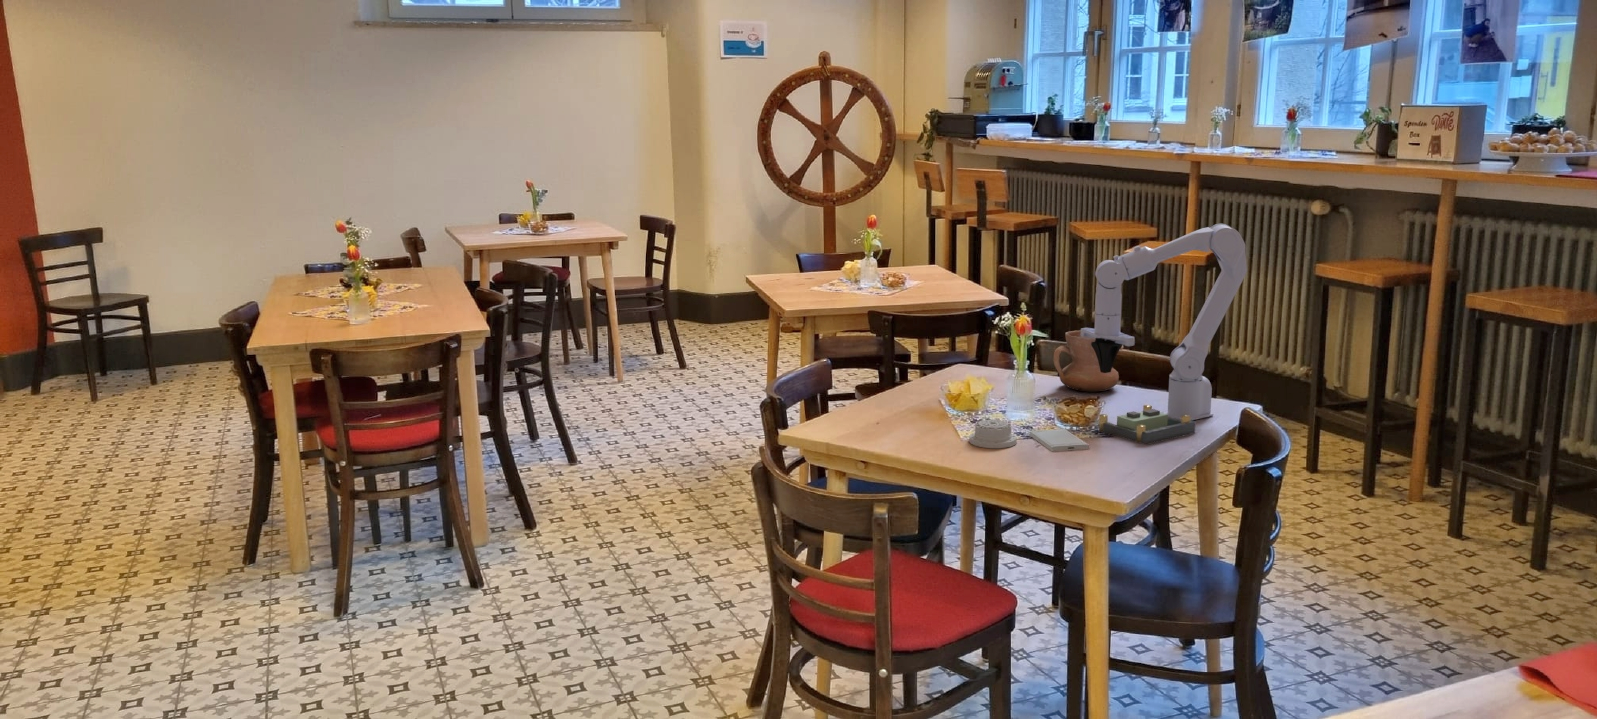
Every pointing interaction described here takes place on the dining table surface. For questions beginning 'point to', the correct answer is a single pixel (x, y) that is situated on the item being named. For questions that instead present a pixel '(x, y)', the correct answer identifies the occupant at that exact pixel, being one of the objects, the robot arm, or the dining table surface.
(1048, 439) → the hard drive
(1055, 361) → the ceramic jug
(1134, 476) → the dining table surface
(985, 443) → the gray cake
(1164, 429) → the tray
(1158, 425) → the green block
